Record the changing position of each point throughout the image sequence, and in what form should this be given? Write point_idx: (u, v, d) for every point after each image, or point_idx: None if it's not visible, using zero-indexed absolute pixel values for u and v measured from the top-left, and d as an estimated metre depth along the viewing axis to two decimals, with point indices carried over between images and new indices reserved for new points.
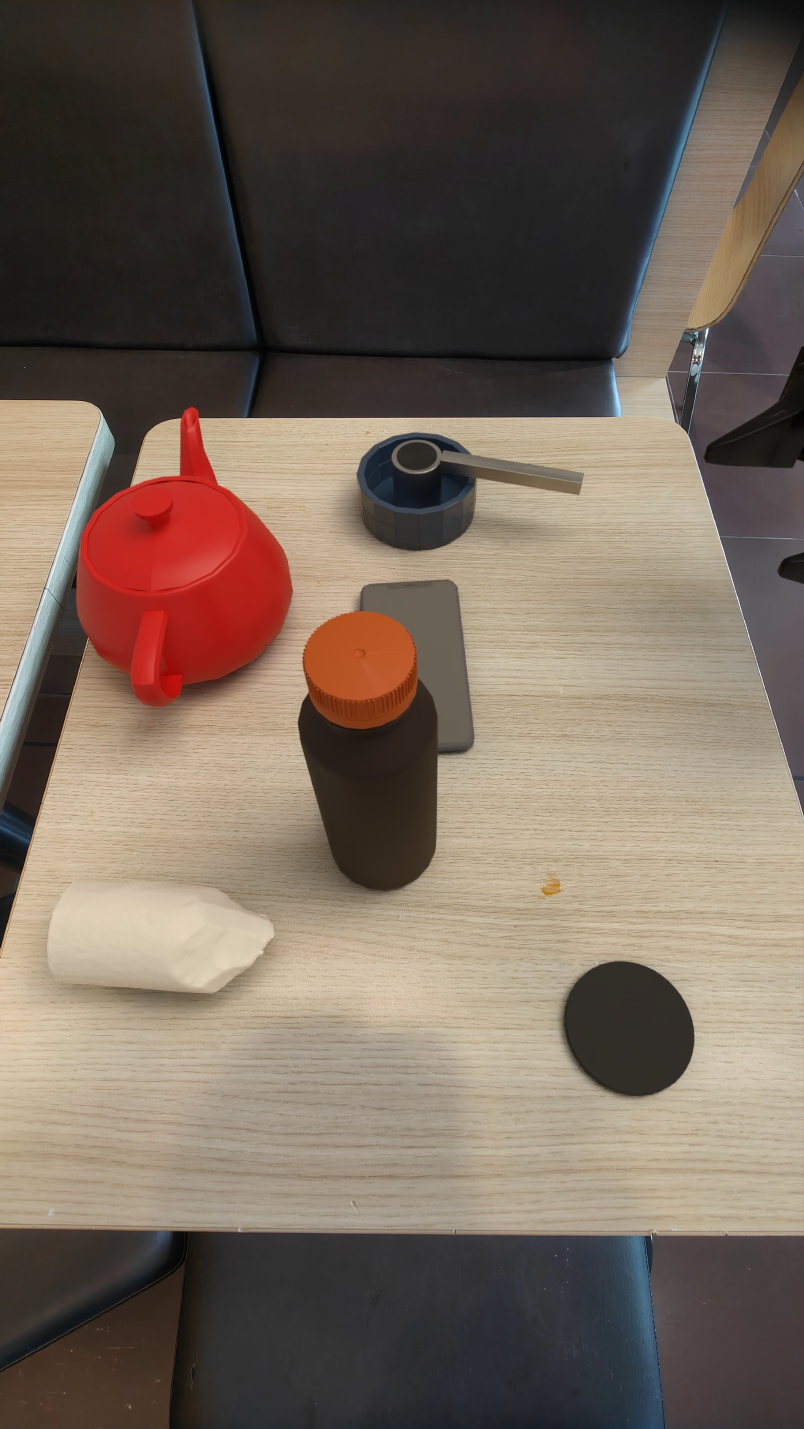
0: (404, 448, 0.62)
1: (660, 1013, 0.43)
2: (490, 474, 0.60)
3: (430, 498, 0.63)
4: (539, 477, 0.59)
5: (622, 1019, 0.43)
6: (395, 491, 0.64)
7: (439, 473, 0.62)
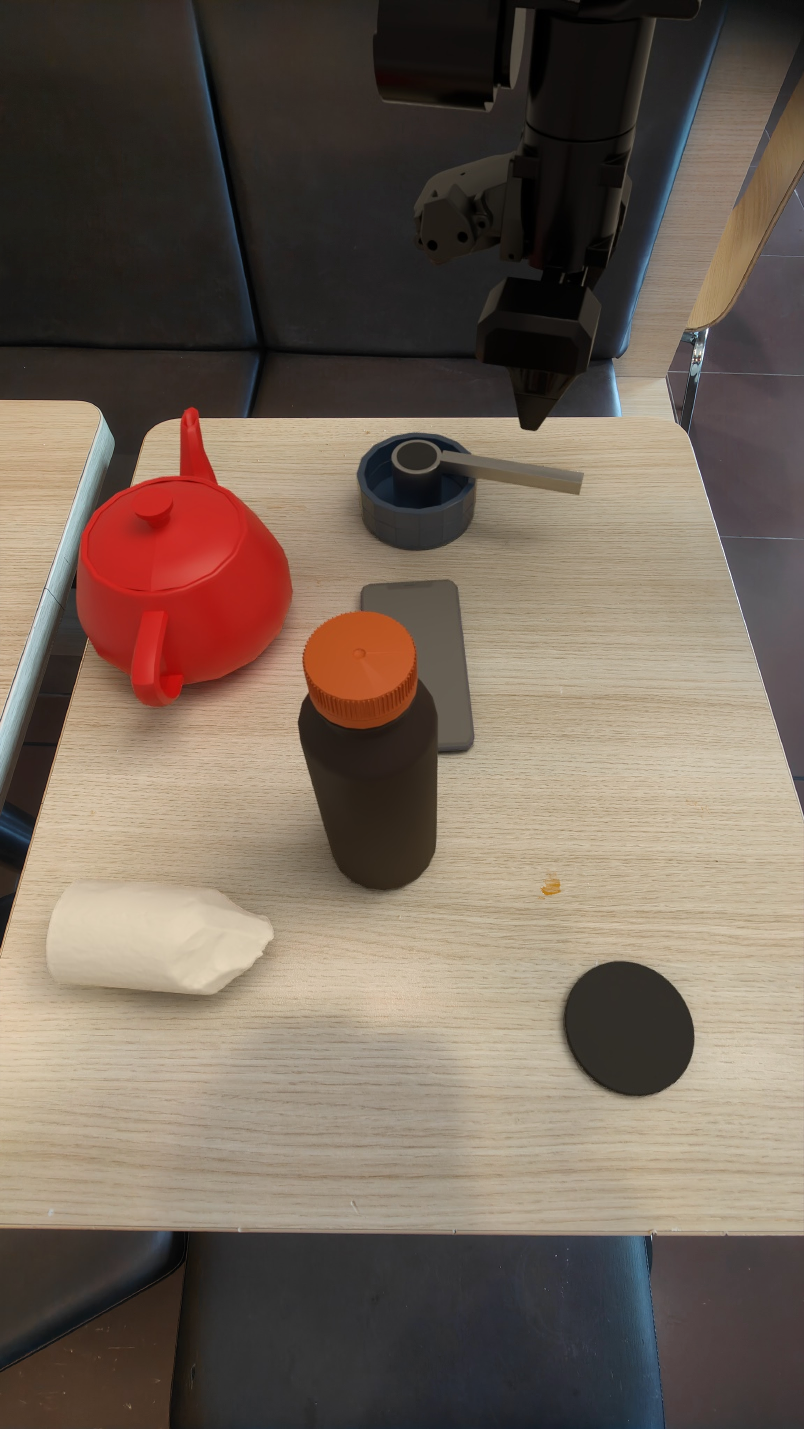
0: (404, 448, 0.62)
1: (660, 1013, 0.43)
2: (490, 474, 0.60)
3: (430, 498, 0.63)
4: (539, 477, 0.59)
5: (622, 1019, 0.43)
6: (395, 491, 0.64)
7: (439, 473, 0.62)
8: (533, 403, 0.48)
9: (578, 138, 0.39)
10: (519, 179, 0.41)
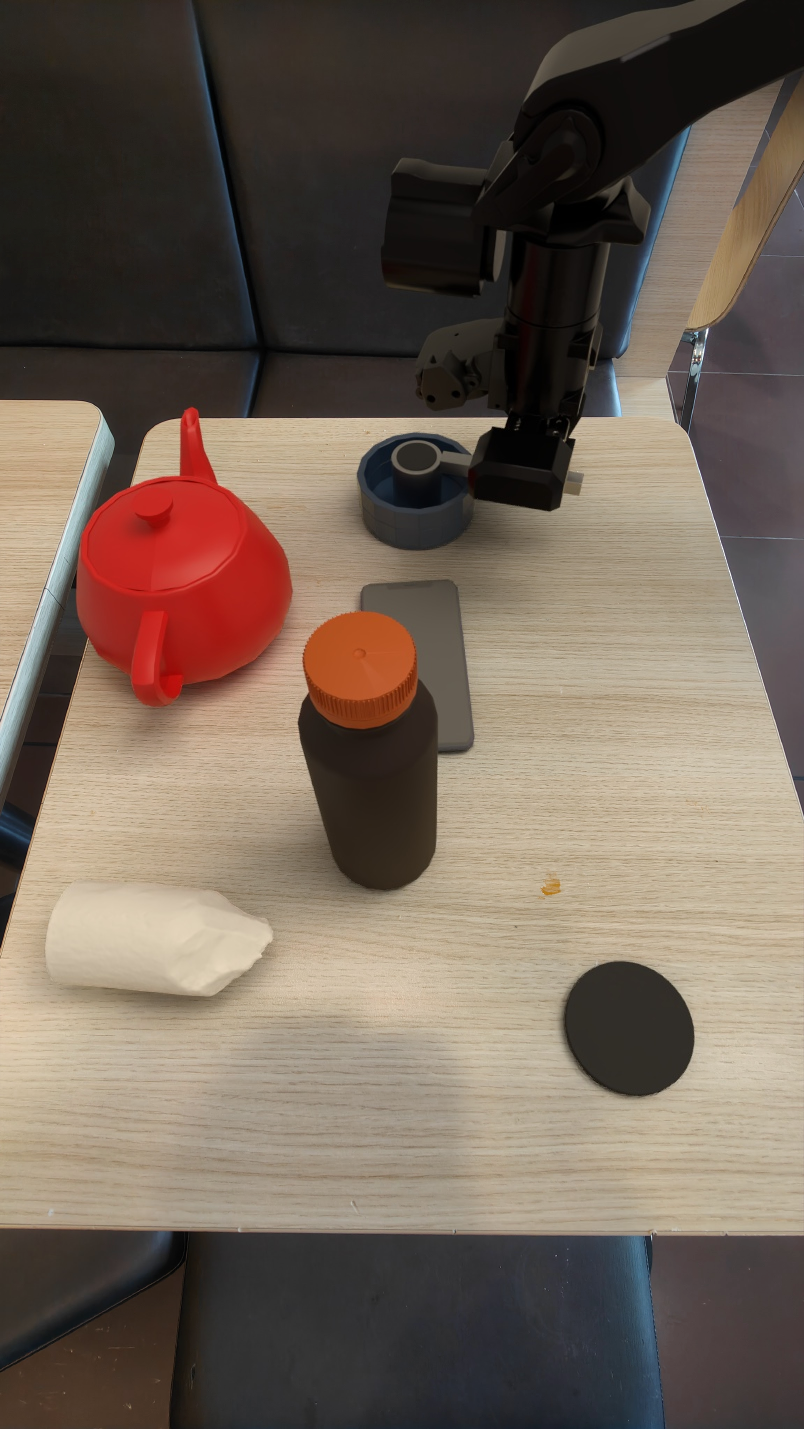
0: (404, 448, 0.62)
1: (660, 1013, 0.43)
2: None
3: (430, 499, 0.63)
4: None
5: (622, 1019, 0.43)
6: (395, 492, 0.63)
7: (439, 474, 0.62)
8: None
9: (550, 325, 0.47)
10: (502, 350, 0.50)
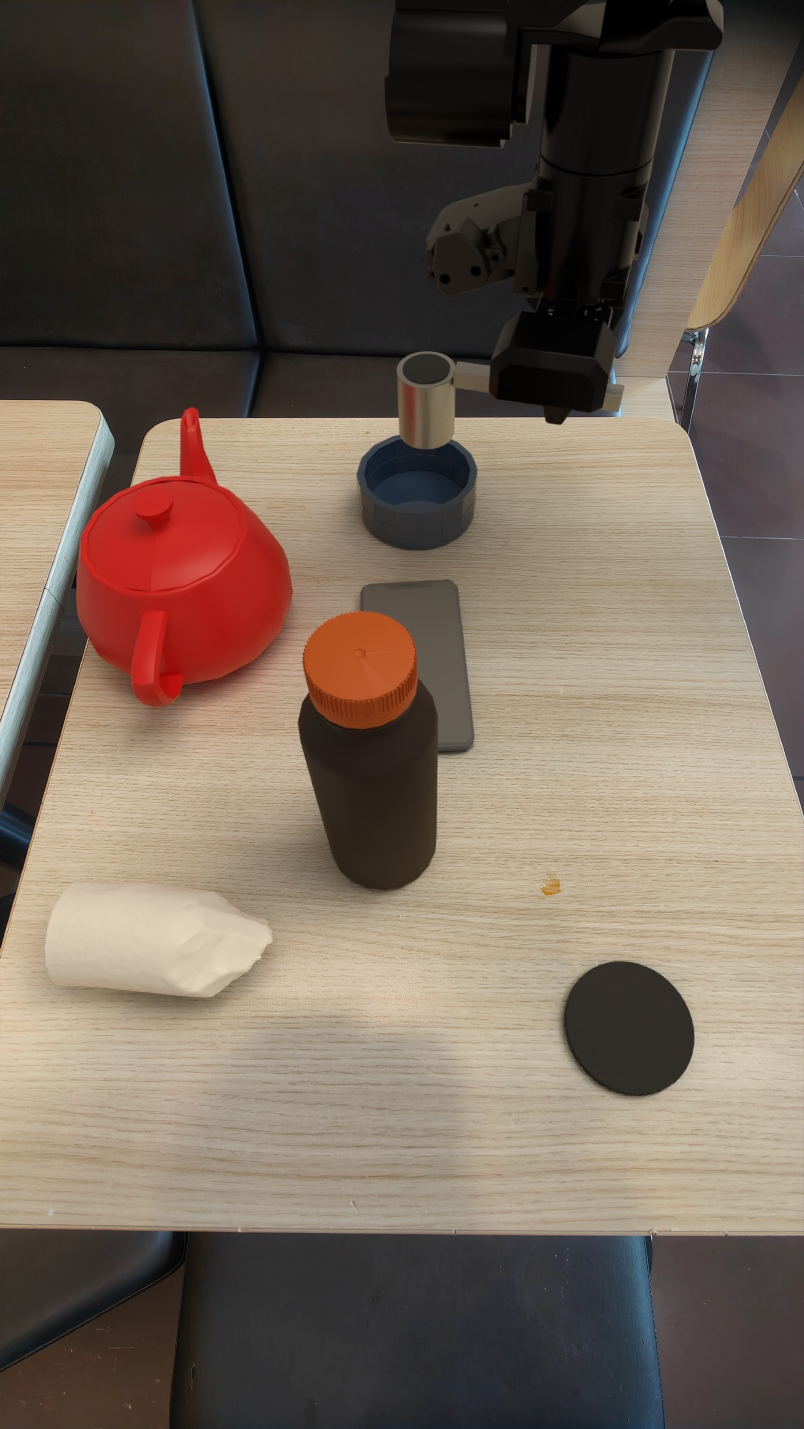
0: (411, 360, 0.53)
1: (660, 1013, 0.43)
2: None
3: (442, 421, 0.54)
4: None
5: (622, 1019, 0.43)
6: (401, 413, 0.54)
7: (452, 389, 0.53)
8: None
9: (594, 172, 0.38)
10: (534, 212, 0.40)
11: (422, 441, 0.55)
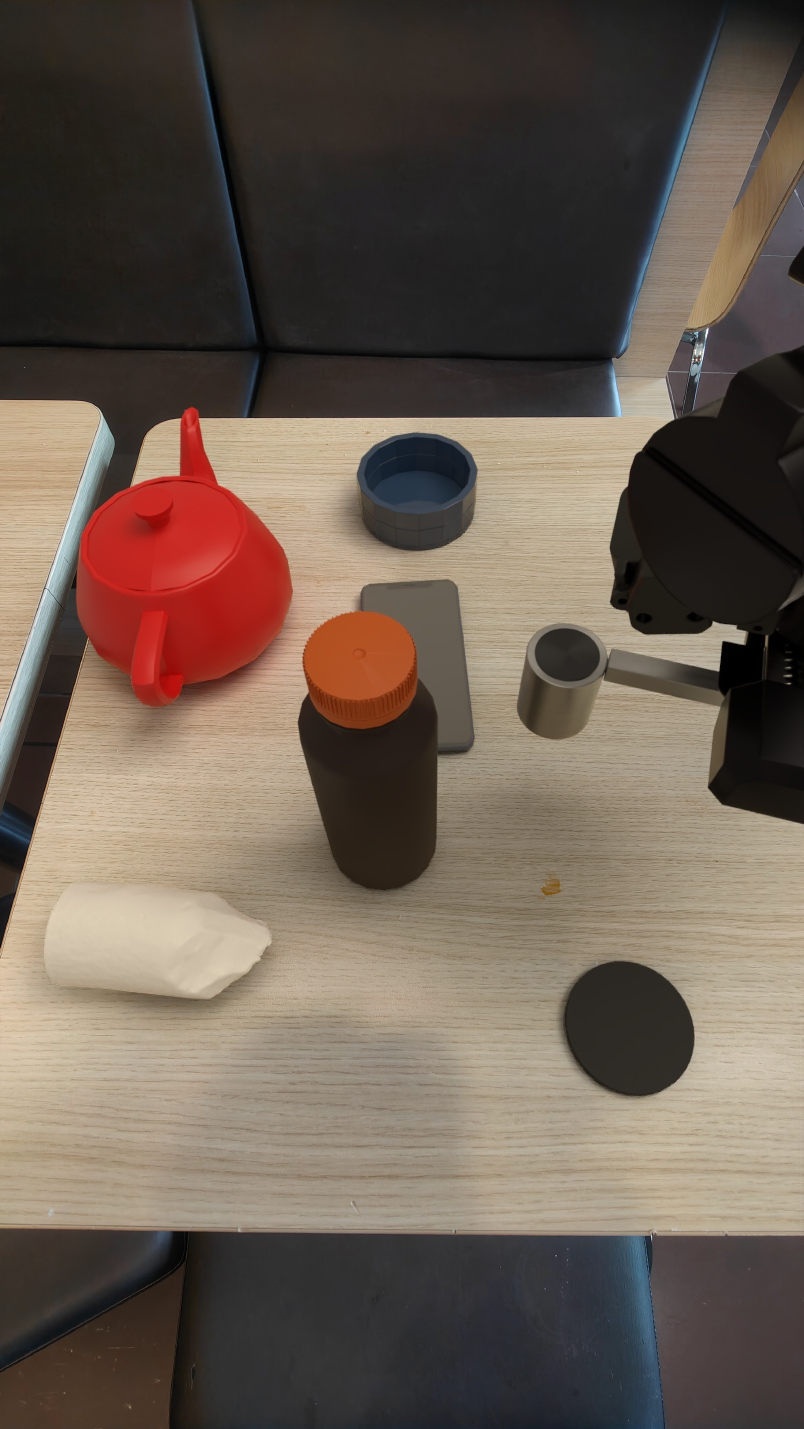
0: (545, 638, 0.39)
1: (660, 1013, 0.43)
2: (690, 692, 0.37)
3: (582, 713, 0.40)
4: None
5: (622, 1019, 0.43)
6: (526, 699, 0.41)
7: (601, 681, 0.39)
8: None
9: None
10: None
11: (551, 733, 0.41)
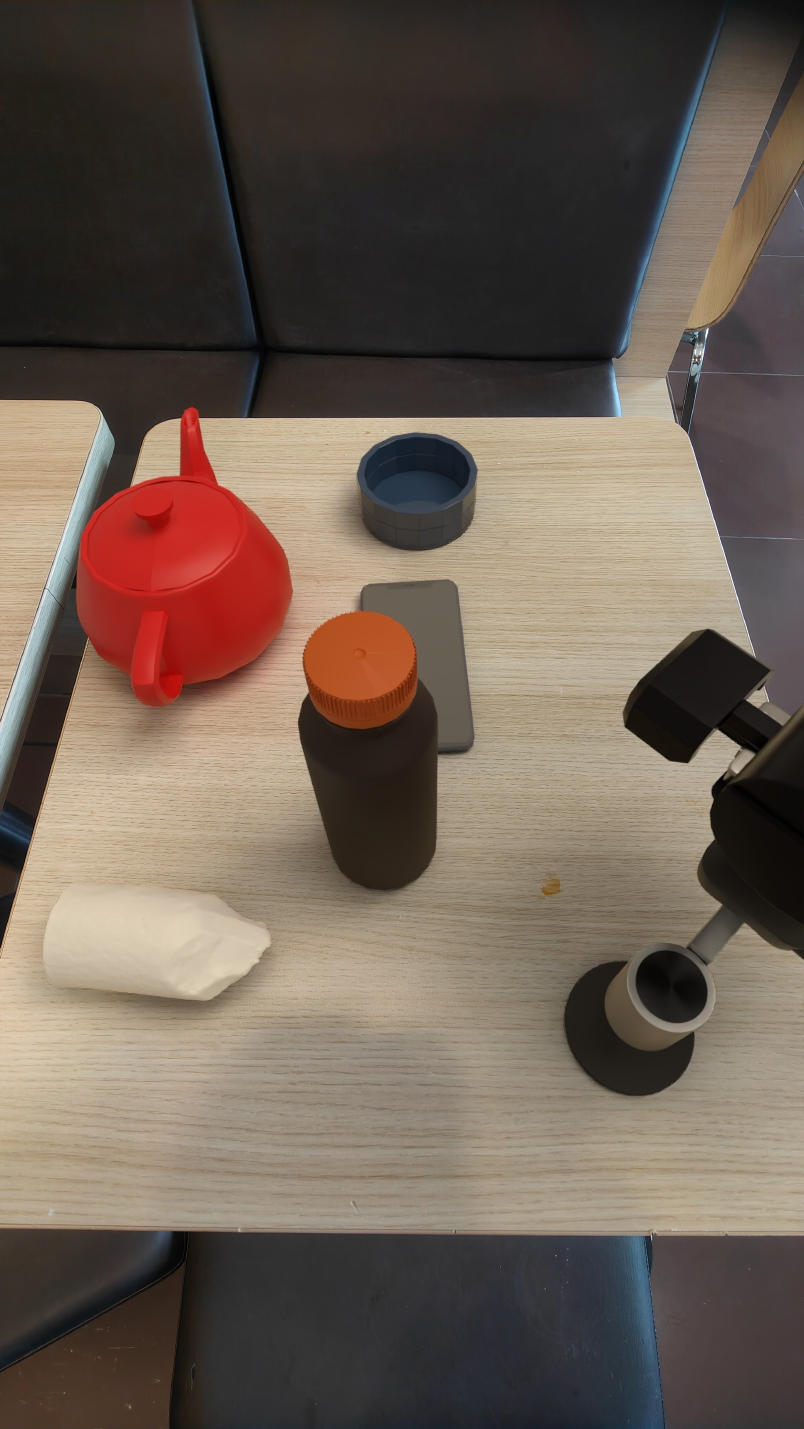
0: (641, 993, 0.35)
1: None
2: None
3: None
4: None
5: None
6: (659, 1043, 0.37)
7: None
8: None
9: None
10: None
11: None
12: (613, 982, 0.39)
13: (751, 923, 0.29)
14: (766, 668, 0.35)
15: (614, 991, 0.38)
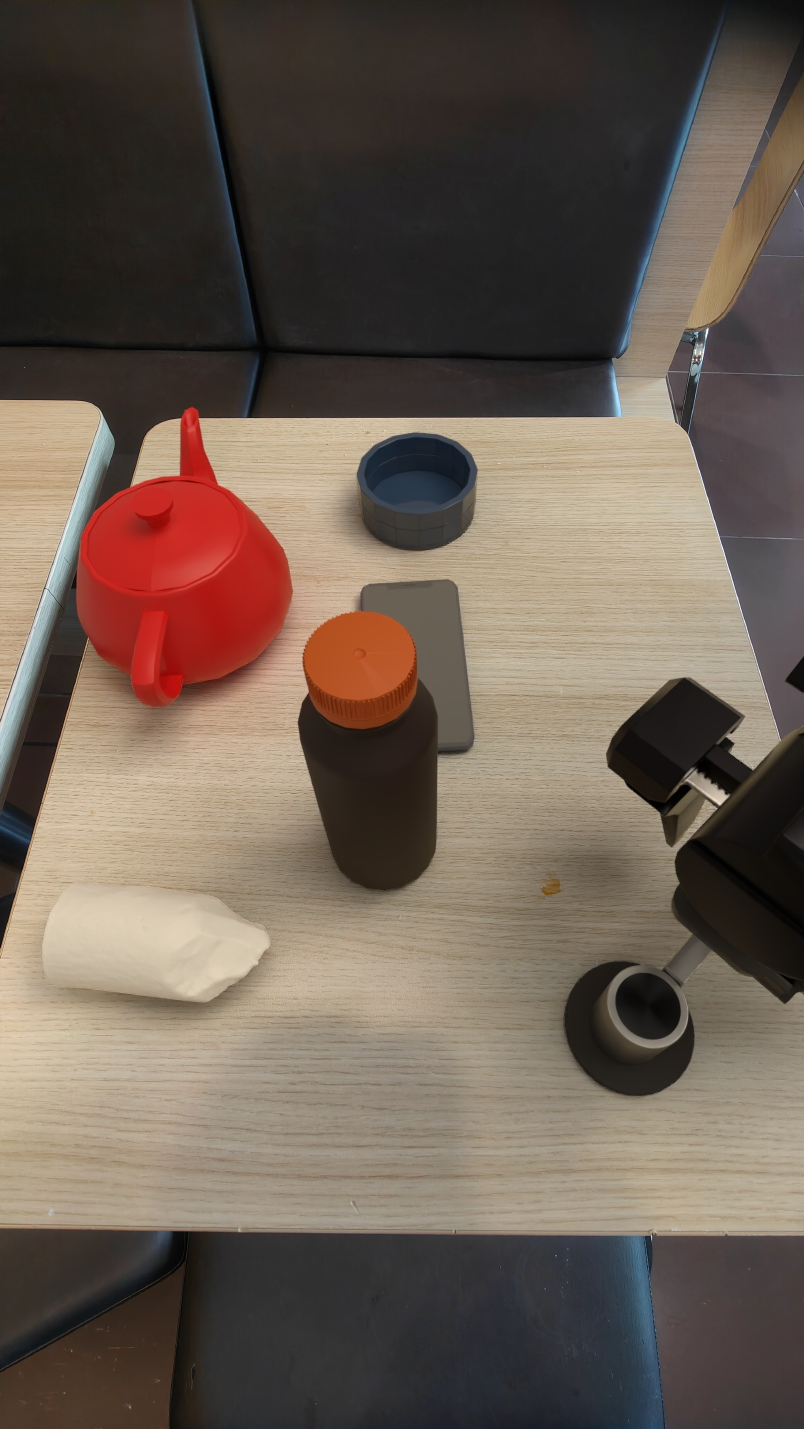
0: (620, 1012, 0.39)
1: None
2: None
3: None
4: None
5: None
6: (638, 1057, 0.40)
7: None
8: None
9: None
10: None
11: None
12: (597, 1001, 0.42)
13: (718, 953, 0.33)
14: (736, 715, 0.38)
15: (597, 1010, 0.41)
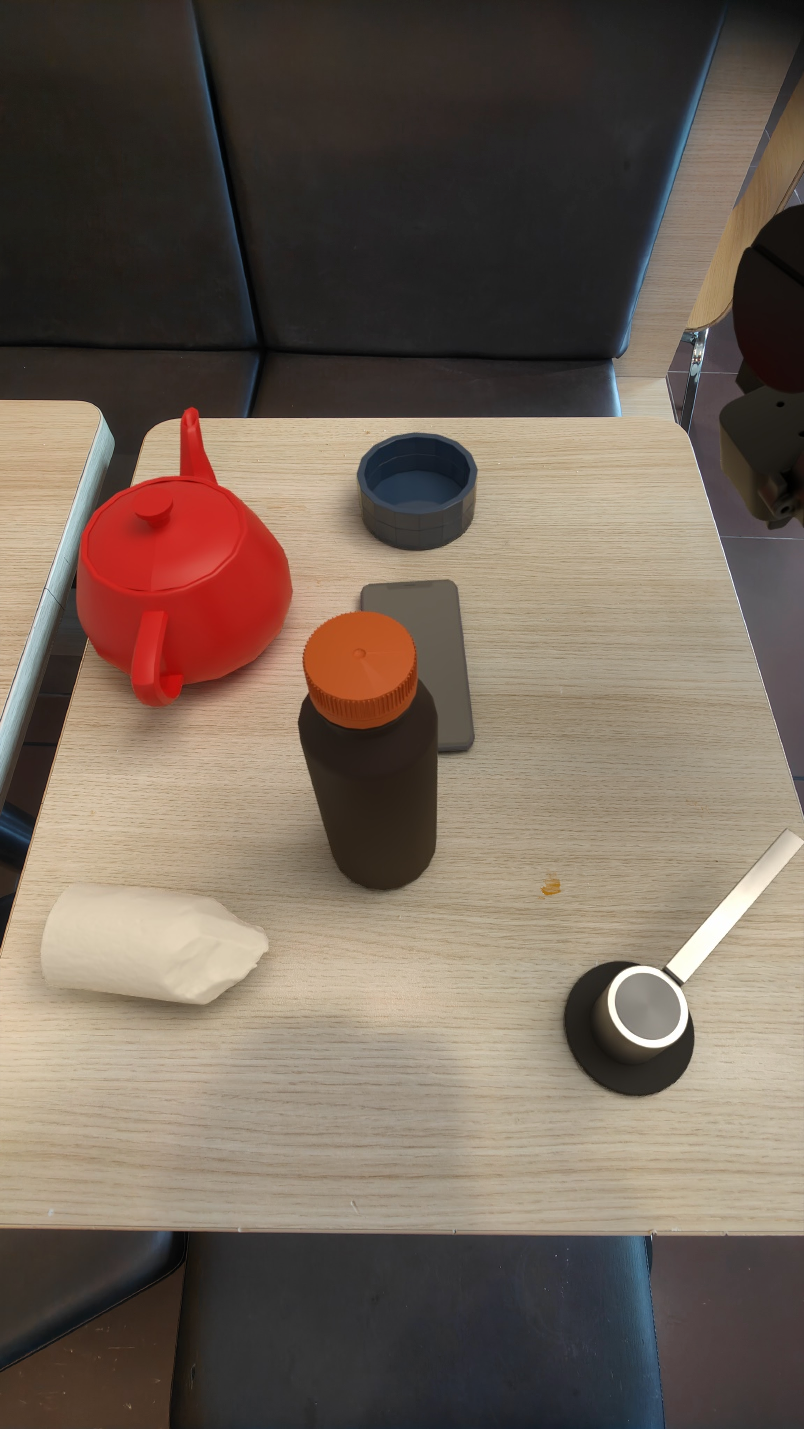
0: (620, 1012, 0.39)
1: None
2: None
3: None
4: (772, 880, 0.42)
5: None
6: (638, 1057, 0.40)
7: None
8: None
9: None
10: None
11: None
12: (597, 1001, 0.42)
13: (740, 477, 0.35)
14: None
15: (597, 1010, 0.41)
